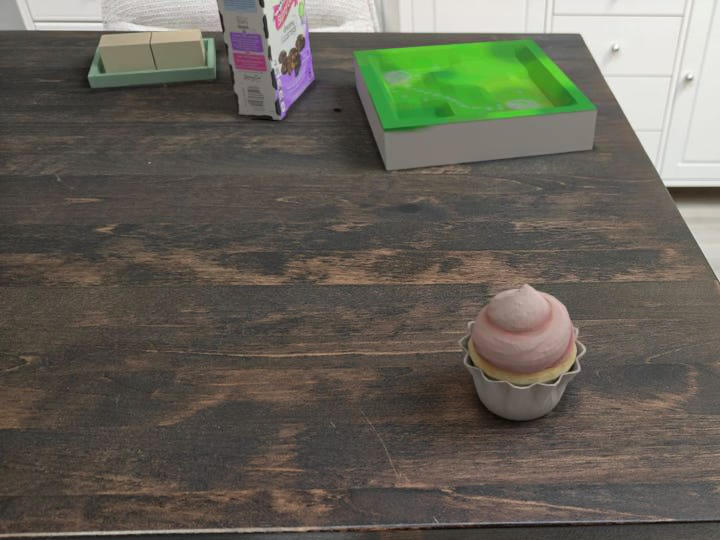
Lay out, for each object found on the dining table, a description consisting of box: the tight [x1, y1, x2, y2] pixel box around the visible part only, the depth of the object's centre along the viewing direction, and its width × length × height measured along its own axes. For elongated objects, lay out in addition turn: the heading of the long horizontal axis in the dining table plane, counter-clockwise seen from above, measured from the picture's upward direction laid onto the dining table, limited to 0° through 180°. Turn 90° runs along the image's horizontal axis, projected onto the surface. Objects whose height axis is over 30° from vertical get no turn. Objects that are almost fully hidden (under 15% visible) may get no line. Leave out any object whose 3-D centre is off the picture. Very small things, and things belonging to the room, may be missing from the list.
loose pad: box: [97, 31, 157, 73], centre depth 104 cm, size 6×5×4 cm
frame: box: [87, 37, 217, 89], centre depth 105 cm, size 16×13×2 cm
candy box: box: [216, 0, 316, 121], centre depth 94 cm, size 14×6×16 cm, turn 171°
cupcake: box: [457, 283, 587, 421], centre depth 54 cm, size 9×9×10 cm
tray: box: [352, 38, 598, 171], centre depth 94 cm, size 25×25×5 cm
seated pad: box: [150, 28, 206, 70], centre depth 105 cm, size 6×5×4 cm
